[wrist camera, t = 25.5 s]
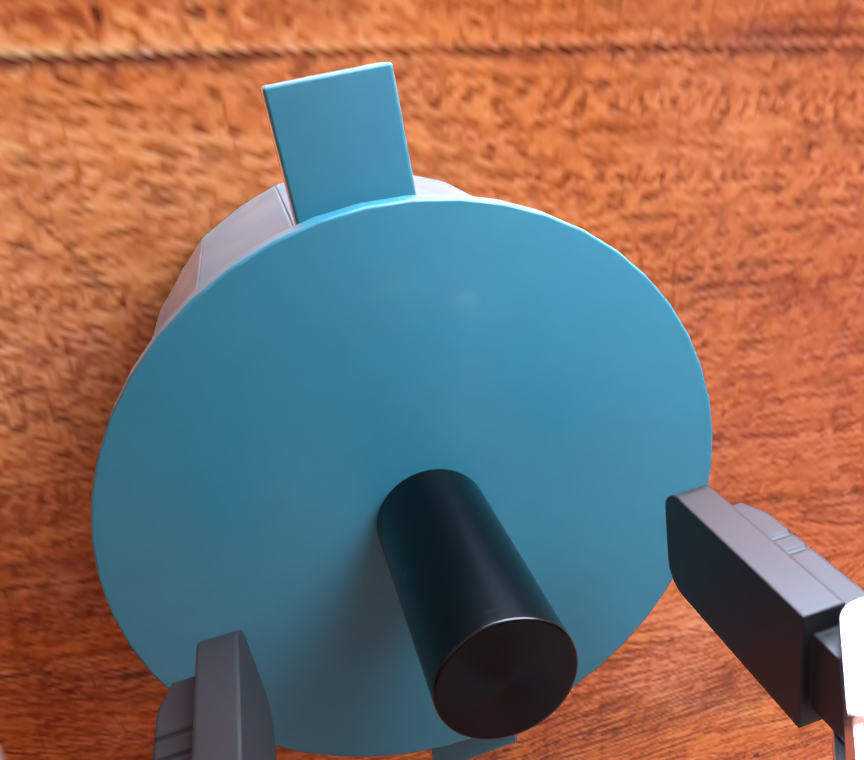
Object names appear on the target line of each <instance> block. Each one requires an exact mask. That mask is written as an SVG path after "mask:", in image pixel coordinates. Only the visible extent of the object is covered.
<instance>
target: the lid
mask: <svg viewBox="0 0 864 760" xmlns="http://www.w3.org/2000/svg"><path fill="white" fill-rule="evenodd" d="M711 454H712V423H711V412H710V401H709V396H708V392H707V388H706V384H705V380H704V375H703V371H702V367H701V364H700V362H699V359H698V357H697V355H696V352H695V350H694V347H693V345H692V342H691V340H690V337H689V335H688V333H687V331H686V330H685V328H684V326H683V325H682V323H681V321H680V320H679V318H678V316H677V315H676V313H675V311H674V310H673V308H672V306H671V305H670V303H669V302H668V301H667V300H666V298H665V297H664V296H663V295H662V294H661V292H660V291H659V290H658V289H657V288H656V286H655V285H654V284H653V283H652V282H651V280H650V279H649V278H648V277H647V276H646V275H645V274H644V273H643V272H642V271H641V270H639V269H638V268H637V267H636V266H635V265H634V264H632V263H631V262H630V261H629V260H628V259H627V258H626V257H624V256H623V255H622V254H621V253H620V252H619V251H617V250H616V249H614V248H612V247H611V246H609V245H608V244H606V243H604V242H603V241H601V240H600V239H598V238H596V237H595V236H593V235H592V234H590V233H588V232H587V231H585V230H583V229H581V228H579V227H577V226H574V225H572V224H570V223H567V222H565V221H563V220H560V219H558V218H556V217H553V216H551V215H549V214H547V213H544V212H542V211H540V210H536V209H533V208H529V207H525V206H521V205H517V204H514V203H510V202H506V201H502V200H499V199H491V198H483V197H474V196H465V195H457V194H438V195H406V196H400V197H394V198H387V199H381V200H375V201H369V202H363V203H358V204H355V205H352V206H348V207H345V208H342V209H339V210H335V211H332V212H329V213H325V214H322V215H319V216H315V217H313V218H311V219H308V220H306V221H304V222H302V223H300V224H297V225H295V226H293V227H291V228H289V229H286V230H284V231H282V232H280V233H278V234H275V235H273V236H271V237H269V238H267V239H266V240H264V241H263V242H261V243H259V244H258V245H256V246H255V247H253V248H251V249H250V250H248V251H247V252H245V253H243V254H242V255H240V256H239V257H237V258H235V259H234V260H232V261H231V262H229V263H228V264H226V265H225V266H224V267H223V268H222V269H220V270H219V271H218V272H217V273H216V274H214V275H213V276H212V277H211V278H210V279H208V280H207V281H206V282H205V283H203V284H202V285H201V286H200V287H199V288H197V289H196V290H195V291H194V292H193V293H191V294H190V295H189V297H188V298H187V299H186V300H185V301H184V302H183V303H182V304H181V305H180V306H179V307H178V309H177V310H176V311H175V312H174V313H173V314H172V315H171V316H170V317H169V318H168V319H167V321H166V322H165V323H164V324H163V325H162V326H161V327H160V328H159V329H158V331H157V332H156V334H155V335H154V337H153V338H152V340H151V341H150V342H149V344H148V345H147V347H146V348H145V350H144V351H143V353H142V354H141V356H140V357H139V359H138V360H137V361H136V363H135V364H134V366H133V367H132V369H131V371H130V373H129V376H128V378H127V380H126V382H125V384H124V386H123V388H122V390H121V392H120V394H119V396H118V398H117V400H116V402H115V404H114V406H113V409H112V412H111V415H110V418H109V421H108V424H107V428H106V431H105V434H104V437H103V440H102V444H101V447H100V450H99V453H98V456H97V461H96V468H95V475H94V482H93V489H92V495H91V536H92V545H93V550H94V556H95V561H96V566H97V572H98V577H99V580H100V583H101V586H102V588H103V591H104V594H105V597H106V600H107V602H108V605H109V608H110V611H111V613H112V615H113V617H114V618H115V620H116V622H117V624H118V626H119V627H120V629H121V631H122V633H123V634H124V636H125V638H126V640H127V642H128V643H129V645H130V647H131V648H132V649H133V650H134V652H135V653H136V654H137V655H138V657H139V658H140V659H141V660H142V662H143V663H144V664H145V665H146V667H147V668H148V669H149V670H150V672H151V673H152V674H153V675H154V676H155V677H156V678H157V679H158V680H159V681H160V682H162V683H163V684H164V685H165V686H166V687H167V688H168V689H170V687H171V685H172V683H174V682H178V681H181V680H184V679H187V678H190V677H193V676H195V669H196V649H197V644H198V643H199V642H201V641H204V640H208V639H211V638H214V637H217V636H220V635H224V634H227V633H230V632H233V631H236V630H240V629H241V630H242V631H243V633H244V635H245V637H246V640H247V642H248V645H249V648H250V651H251V653H252V656H253V659H254V661H255V664H256V667H257V670H258V672H259V675H260V678H261V680H262V683H263V686H264V689H265V691H266V694H267V697H268V701H269V705H270V709H271V714H272V719H273V725H274V735H275V746H278V747H282V748H287V749H291V750H296V751H300V752H304V753H313V754H322V755H331V756H360V757H376V756H386V755H395V754H405V753H413V752H418V751H423V750H428V749H433V748H438V747H443V746H447V745H450V744H453V743H457V742H460V741H463V740H467V739H470V738H473V739H481V740H491V739H500V738H505V737H509V736H513V735H516V734H519V733H521V732H524V731H526V730H528V729H530V728H532V727H534V726H536V725H537V724H539V723H540V722H542V721H543V720H545V719H546V718H547V717H548V716H550V715H551V714H552V713H553V712H554V711H555V710H556V709H557V708H558V707H559V706H560V705H561V704H562V702H563V701H564V700H565V698H566V697H567V695H568V694H569V692H570V690H571V688H572V687H573V686H575V685H576V684H577V683H578V682H580V681H581V680H582V679H584V678H585V677H586V676H587V675H589V674H590V673H591V672H593V671H594V670H595V669H596V668H598V667H599V666H600V665H601V664H602V663H603V662H604V661H605V660H606V659H607V658H609V657H610V656H611V655H612V654H613V653H614V652H615V651H616V650H617V649H618V648H619V647H620V646H621V645H622V644H623V643H624V642H625V641H626V640H627V639H628V638H629V637H630V635H631V634H632V633H633V632H634V631H635V630H636V629H637V628H638V626H639V625H640V624H641V623H642V622H643V621H644V620H645V618H646V617H647V616H648V614H649V613H650V612H651V610H652V609H653V607H654V606H655V605H656V603H657V602H658V600H659V599H660V598H661V596H662V595H663V593H664V592H665V591H666V589H667V587H668V585H669V584H670V582H671V580H672V578H673V577H672V574H671V571H670V568H669V562H668V546H667V529H666V511H665V503H666V499H667V498H668V497H669V496H671V495H674V494H677V493H681V492H684V491H687V490H690V489H693V488H697V487H700V486H703V485H707V486H708V480H709V475H710V469H711Z"/></svg>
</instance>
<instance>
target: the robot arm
mask: <svg viewBox="0 0 864 760" xmlns="http://www.w3.org/2000/svg"><path fill="white" fill-rule="evenodd" d="M665 511H666V529H667V546H668V562H669V568H670V571H671V574H672V577H673V579H674V582H675V584H676V586H677V587H678V589H679V591H680V592H681V594H682V595H683V596H684V597H685V598H686V599H687V601H688V602H689V603H690V604H691V605H692V606H693V607H694V609H695V610H696V611H697V612H698V613H699V614H700V615H701V617H702V618H703V619H704V620H705V621H706V622H707V623H708V625H709V626H710V627H711V628H712V629H713V630H714V631H715V633H716V634H717V635H718V636H719V637H720V638H721V640H722V641H723V642H724V643H725V644H726V645H727V646H728V648H729V649H730V650H731V651H732V652H733V653H734V654H735V656H736V657H737V658H738V659H739V660H740V661H741V662H742V664H743V665H744V666H745V667H746V668H747V669H748V670H749V672H750V673H751V674H752V675H753V676H754V677H755V678H756V680H757V681H758V682H759V683H760V684H761V685H762V686H763V688H764V689H765V690H766V691H767V692H768V693H769V694H770V696H771V697H772V698H773V699H774V700H775V701H776V702H777V704H778V705H779V706H780V707H781V708H782V709H783V710H784V712H785V713H786V714H787V715H788V716H789V717H790V718H791V720H792V721H793V722H794V723H795V724H796V725H797V726H798V728H800V727H803V726H805V725H808V724H811V723H813V722H816V721H819V720H821V719H823V720H824V721H825V722H826V723H827V724H828V725H829V726H830V727H831V728H832V730H833V735H832V753H833V760H864V590H862V589H861V588H860V587H859V586H858V585H856V584H855V583H854V582H853V581H851V580H850V579H849V578H848V577H847V576H845V575H844V574H843V573H842V572H840V571H839V570H838V569H837V568H835V567H834V566H833V565H832V564H831V563H829V562H828V561H827V560H826V559H824V558H823V557H822V556H821V555H819V554H818V553H817V552H816V551H815V550H813V549H812V548H811V547H810V548H808V547H807V545H806V543H805V542H804V541H802V540H801V539H800V538H799V537H797V536H796V535H795V534H791V533H790V530H789V529H788V528H786V527H785V526H784V525H783V524H781V523H780V522H779V521H778V520H776V519H775V518H774V517H773V516H772V515H770V514H769V513H766V512H764V511H762V510H759V509H757V508H754V507H752V506H749V505H747V504H745V503H742V502H741V503H738V504H735V505H731V504H730V503H729V502H728V501H727V500H726V499H724V498H723V497H722V496H721V495H720V494H719V493H717V492H716V491H715V490H714V489H713V488H711V487H710V486H707V485H703V486H700V487H697V488H693V489H690V490H687V491H684V492H681V493H677V494H674V495H671V496H669V497H668V498H667V499H666V503H665ZM152 760H276V748H275V735H274V725H273V719H272V714H271V709H270V705H269V701H268V697H267V694H266V691H265V689H264V686H263V683H262V680H261V678H260V675H259V672H258V670H257V667H256V664H255V661H254V659H253V656H252V653H251V651H250V648H249V645H248V642H247V640H246V637H245V635H244V633H243V631H242V630H241V629H240V630H236V631H233V632H230V633H227V634H224V635H220V636H217V637H214V638H211V639H208V640H204V641H201V642H199V643H198V644H197V649H196V669H195V676H193V677H190V678H187V679H184V680H181V681H178V682H174V683H172V685H171V687H170V689H169V690H168V692H167V694H166V696H165V698H164V700H163V702H162V703H161V705H160V707H159V709H158V711H157V720H156V729H155V744H154V749H153V759H152Z"/></svg>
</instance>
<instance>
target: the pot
mask: <svg viewBox="0 0 864 760" xmlns="http://www.w3.org/2000/svg"><path fill="white" fill-rule="evenodd" d="M260 91H261V95H262V99H263V103H264V107H265V110H266V114H267V118H268V122H269V126H270V130H271V134H272V138H273V142H274V146H275V149H276V153H277V157H278V161H279V165H280V169H281V173H282V177H283V181H284V183H280V184H276V186H272V187H271V188H269V189H268V190H267V191H265V192H263V193H261V194H259V195H258V196H256V197H255V198H253V199H251V200H250V201H248V202H247V203H245V204H243V205H242V206H240V207H239V208H237V209H236V210H235V211H234V212H233V213H231V214H230V215H229V216H228V217H227V218H225V219H224V220H223V221H222V222H220V223H219V224H218V225H217V226H216V227H215V228H214V229H213V230H211V231H210V232H209V233H207V234H206V235H205V236H204V238H202V239H201V240H200V242H199V244H198V246H197V247H196V249H195V251H194V252H193V254H192V255H191V257H190V258H189V260H188V261H187V263H186V264H185V266H184V267H183V269H182V270H181V272H180V274H179V276H178V278H177V280H176V283H175V285H174V287H173V289H172V290H171V292H170V294H169V295H168V297H167V299H166V301H165V302H164V304H163V306H162V307H161V310H160V312H159V316H158V320H157V323H156V327H155V331H154V335H155V334H156V332H157V331H158V329H159V328H160V327H161V326H162V325H163V324H164V323H165V322H166V321H167V319H168V318H169V317H170V316H171V315H172V314H173V313H174V312H175V311H176V310H177V309H178V307H179V306H180V305H181V304H182V303H183V302H184V301H185V300H186V299H187V298H188V297H189V295H190V294H191V293H193V292H194V291H195V290H196V289H197V288H199V287H200V286H201V285H202V284H203V283H205V282H206V281H207V280H208V279H210V278H211V277H212V276H213V275H214V274H216V273H217V272H218V271H219V270H220V269H222V268H223V267H224V266H225V265H226V264H228V263H229V262H231V261H232V260H234V259H235V258H237V257H239V256H240V255H242V254H243V253H245V252H247V251H248V250H250V249H251V248H253V247H255V246H256V245H258V244H259V243H261V242H263V241H264V240H266V239H267V238H269V237H271V236H273V235H275V234H278V233H280V232H282V231H284V230H286V229H289V228H291V227H293V226H295V225H297V224H300V223H302V222H304V221H306V220H308V219H311V218H313V217H315V216H319V215H322V214H325V213H329V212H332V211H335V210H339V209H342V208H345V207H348V206H352V205H355V204H358V203H363V202H369V201H375V200H381V199H387V198H394V197H400V196H406V195H438V194H457V195H465V196H471V195H469V194H467V193H465V192H463V191H461V190H459V189H457V188H455V187H453V186H451V185H450V184H448V183H446V182H443V181H440V180H435V179H429V178H424V177H419V176H415V175H413V173H412V168H411V162H410V157H409V151H408V146H407V140H406V135H405V130H404V124H403V119H402V113H401V108H400V103H399V97H398V92H397V86H396V81H395V75H394V70H393V65H392V64H391V62H377V63H372V64H367V65H362V66H357V67H353V68H348V69H343V70H338V71H333V72H328V73H323V74H318V75H313V76H308V77H303V78H298V79H293V80H288V81H283V82H278V83H273V84H268V85H263V86H262V87H261V90H260ZM154 335H153V337H154ZM516 741H517V737H516V735H513V736H509V737H505V738H500V739H491V740H481V739H473V738H470V739H467V740H463V741H460V742H457V743H453V744H450V745H447V746H443V747H438V748H433V749H430V753H431V756H432V759H433V760H467V759H470V758H473V757H475V756H478V755H481V754H484V753H487V752H489V751H492V750H495V749H498V748H501V747H503V746H506V745H509V744H512V743H515V742H516Z"/></svg>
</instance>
